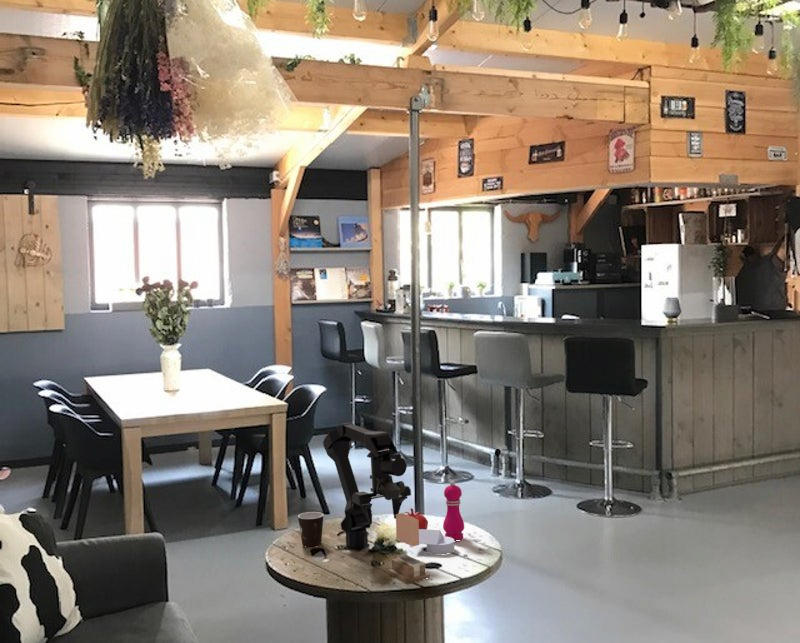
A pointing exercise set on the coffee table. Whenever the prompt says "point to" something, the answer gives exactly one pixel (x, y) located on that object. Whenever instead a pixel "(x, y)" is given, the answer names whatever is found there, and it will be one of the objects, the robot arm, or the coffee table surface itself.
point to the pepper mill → (453, 513)
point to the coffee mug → (311, 528)
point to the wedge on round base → (436, 541)
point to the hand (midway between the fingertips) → (383, 521)
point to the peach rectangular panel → (407, 529)
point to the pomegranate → (422, 520)
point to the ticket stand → (408, 569)
